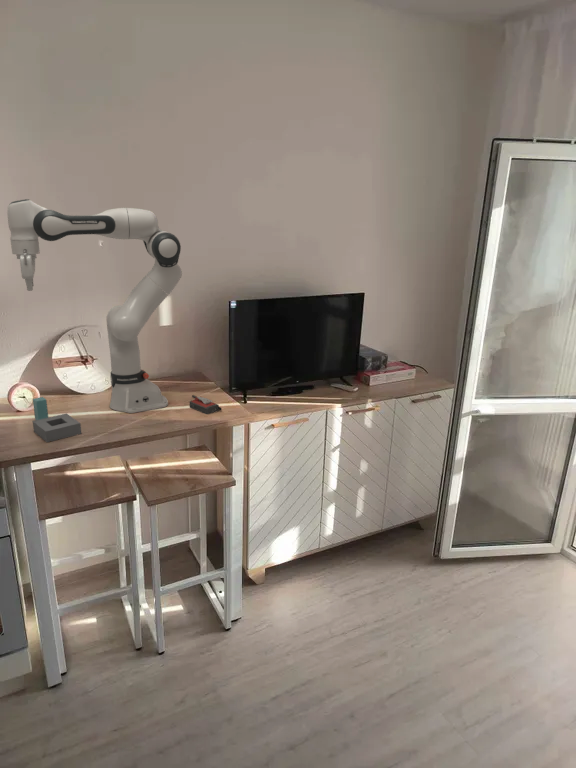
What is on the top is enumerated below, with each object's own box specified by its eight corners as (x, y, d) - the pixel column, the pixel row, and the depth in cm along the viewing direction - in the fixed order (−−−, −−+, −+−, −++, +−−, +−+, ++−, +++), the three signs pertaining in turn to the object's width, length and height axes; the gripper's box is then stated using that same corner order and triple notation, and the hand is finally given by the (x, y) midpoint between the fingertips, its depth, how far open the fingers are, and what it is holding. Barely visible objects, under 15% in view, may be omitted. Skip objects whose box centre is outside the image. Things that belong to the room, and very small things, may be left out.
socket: (67, 423, 211) (66, 413, 210) (81, 433, 203) (80, 423, 202) (33, 431, 204) (32, 421, 202) (47, 442, 195) (45, 431, 194)
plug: (44, 417, 217) (42, 396, 214) (48, 419, 214) (46, 399, 212) (35, 419, 215) (32, 398, 212) (38, 422, 212) (36, 401, 210)
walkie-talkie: (225, 411, 229) (194, 398, 242) (225, 400, 227) (194, 388, 240) (208, 416, 223) (177, 403, 235) (208, 405, 221) (176, 393, 234)
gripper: (34, 250, 192) (39, 292, 196) (36, 246, 210) (40, 284, 214) (13, 251, 190) (19, 293, 194) (17, 246, 208) (22, 285, 212)
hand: (30, 288), depth 204 cm, fingers open, 8 cm apart
